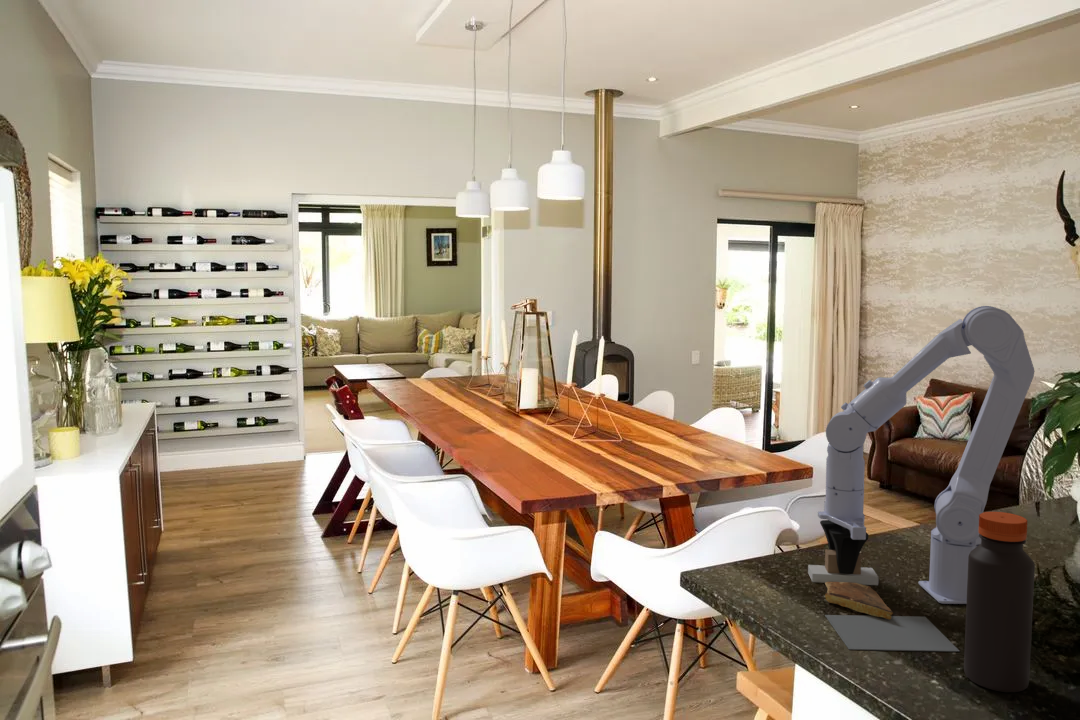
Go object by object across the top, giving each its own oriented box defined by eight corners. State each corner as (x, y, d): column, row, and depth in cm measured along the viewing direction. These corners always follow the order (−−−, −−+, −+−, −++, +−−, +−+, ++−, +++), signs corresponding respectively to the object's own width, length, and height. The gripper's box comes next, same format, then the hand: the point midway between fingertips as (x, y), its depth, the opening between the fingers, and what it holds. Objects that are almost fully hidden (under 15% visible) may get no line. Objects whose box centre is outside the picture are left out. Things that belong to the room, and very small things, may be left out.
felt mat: (925, 617, 111) (925, 616, 111) (959, 651, 101) (959, 650, 101) (824, 615, 112) (824, 614, 112) (849, 649, 102) (849, 648, 102)
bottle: (1000, 663, 97) (1007, 507, 95) (1042, 691, 91) (1051, 524, 89) (951, 668, 96) (957, 510, 95) (990, 696, 90) (997, 527, 88)
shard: (893, 622, 109) (893, 610, 109) (836, 620, 110) (837, 608, 110) (869, 593, 120) (869, 582, 120) (818, 591, 121) (818, 580, 120)
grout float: (871, 576, 127) (872, 550, 127) (878, 586, 123) (879, 558, 123) (808, 573, 129) (808, 547, 128) (812, 582, 125) (812, 555, 124)
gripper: (806, 475, 132) (805, 553, 133) (833, 498, 118) (831, 585, 119) (849, 475, 131) (847, 553, 133) (881, 499, 117) (878, 586, 118)
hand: (842, 569), depth 126 cm, fingers closed on grout float, 3 cm apart
